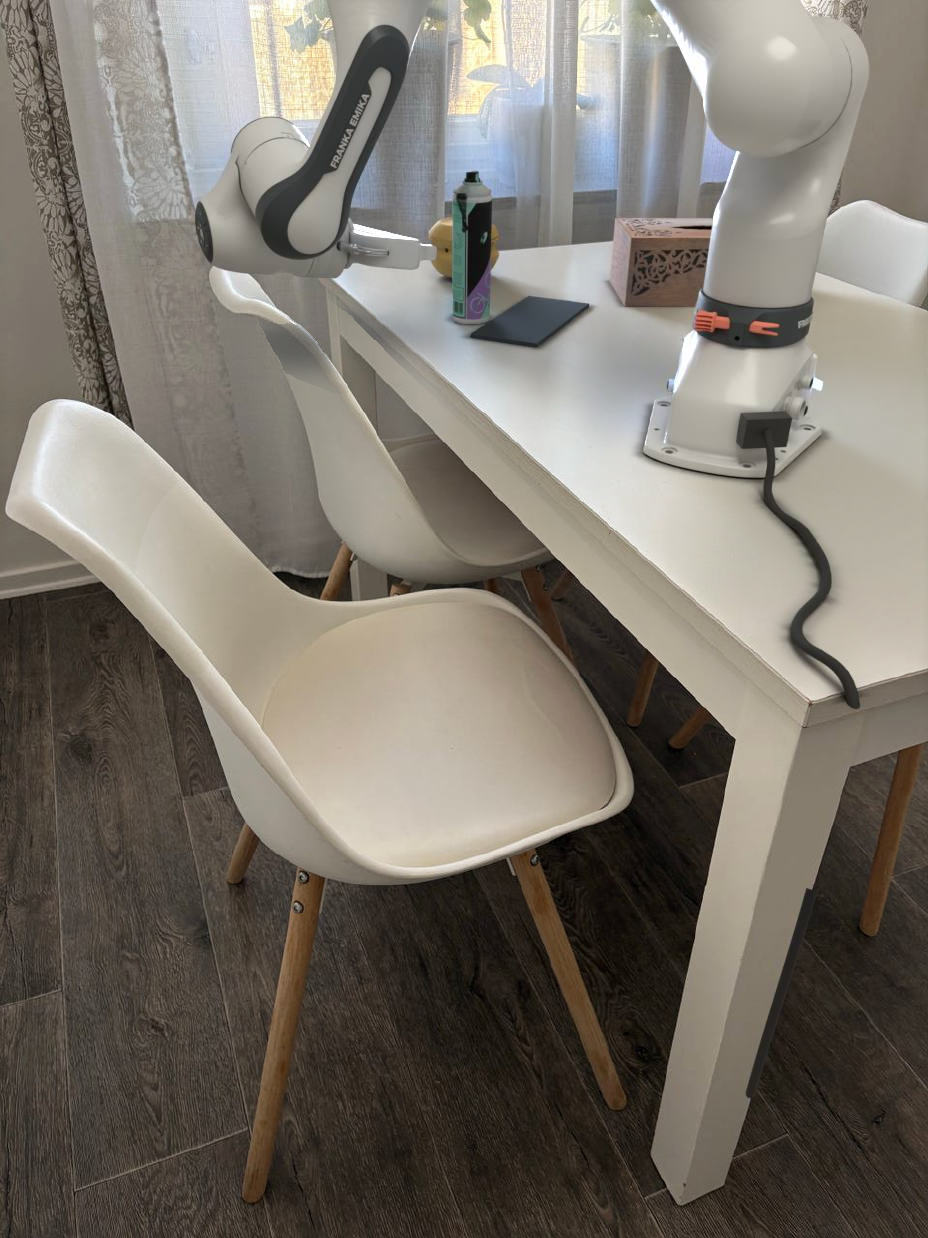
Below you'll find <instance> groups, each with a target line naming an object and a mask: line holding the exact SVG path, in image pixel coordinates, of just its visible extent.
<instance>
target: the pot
mask: <svg viewBox="0 0 928 1238" xmlns="http://www.w3.org/2000/svg"><path fill="white" fill-rule="evenodd" d="M428 239H429V241H431V243H432V244H431V245H432V246H435V247H436V248H437V255H436V259H435V260H429V261H430V262H431V265H432V266H433V268H434V269H435V271H436V272H438V273H439V274H441V275H442V276H444V277H446V278H449V279H450V278H451V279H452V216H449V217H445V218H442V219H439V220H438V221H437V222H435V223H434V224H433V226H431V228H430V230H429V231H428ZM499 240H500V233H499V230H498V228H497V227H496V226H495V224H493V223H492V231H491V271H492V270H493V269H494V267H495V265H496V263H497V262H498V259H499V257H500V252H499V249H498V248H497V246H496V243H498V241H499Z"/></svg>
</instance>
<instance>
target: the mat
mask: <svg viewBox="0 0 928 1238" xmlns="http://www.w3.org/2000/svg"><path fill="white" fill-rule="evenodd" d="M588 308H590V303H589V302H580V301H574V300H573V301H572V300H567V299H566V300H565V299H557V298H551V297H550V298H549V297H542V296H533V295H528V296H526V297H525V298H523V299H522V300H520V301H518V302H517V303H516V304H514V305H512V306H510V307H509V308H507V309H506V310H505V311H503V312H502V313H500V314H498V315H497V316H495V317H494V318H492V319H490V320H489V321H487V322H485V323H484V324H483V325H481V326H479V327H478V328H476V329H475V330H474V331H472V332H471V333H470V334H469V337H470V338H472V339H478V340H479V339H480V340H485V341H493V342H500V343H505V344H511V345H520V346H526V347H533V348H538V347H539V346H540V345H542V344H543V343H544V342H545V341H547V340H549V338H551V337H552V336H553V335H554V334H556V333H557V332H558V331H560V330H561V329H562V328H564V327H565V326H566V325H568V324H569V323H570V322H571V321H573V320H574V319H575V318H576V317H577V316H579V315H580V314H581V313H583V312H584V311H586V310H587V309H588Z"/></svg>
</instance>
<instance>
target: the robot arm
mask: <svg viewBox="0 0 928 1238" xmlns="http://www.w3.org/2000/svg"><path fill="white" fill-rule="evenodd" d="M649 1H650V2H651V4H652V6H653V7H654V8H655V10H656V11H657V13H658V14H659V15H660V17H661V18H662V20H663V21H664V23H665V25H666V26H667V27H668V29H669V31H670V33H671V34H672V36H673V38H674V40H675V42H676V44H677V45H678V48H679V50H680V52H681V55H682V57H683V59H684V61H685V64H686V66H687V68H688V70H689V72H690V75H691V77H692V79H693V81H694V83H695V85H696V88H697V90H698V92H699V94H700V95H701V98H702V99H703V100H702V101H703V102H702V103H703V111H704V116H705V119H706V122H707V125H708V127H709V129H710V131H711V132H712V134H713V136H714V137H715V138H716V139H717V140H718V141H719V142H720V143H721V144H722V145H724V146H725V147H726V148H728V149H730V150H732V151H735V155H734V158H733V161H732V164H731V168H730V171H729V173H728V174H729V175H728V177H727V180H726V183H725V185H724V189H723V191H722V194H721V195H720V198H719V200H718V202H717V204H716V207H715V209H714V211H713V217H712V218H713V224H712V230H711V237H710V244H709V252H708V259H707V266H706V273H705V280H704V287H703V288H702V289H700V291H699V295H698V300H697V302H696V305H695V306H694V310H693V311H694V313H693V314H694V316H693V320H692V324H691V326H692V330H691V331H690V332H688V333H686V334H685V335H684V336H683V337H681V341H680V350H679V357H678V365H677V371H676V373H675V374H676V375H675V378H674V379H672V378H669V379H668V381H667V382H666V390H667V392H669V393H672V395H666V396H665V395H664V396H659V397H656V398H655V399H654V401H653V406H652V410H651V414H650V418H649V422H648V423H649V424H648V427H647V431H646V436H645V440H644V444H643V449H642V451H643V454H644V455H646V456H648V457H650V458H652V459H654V460H657V461H660V462H662V463H665V464H668V465H672V466H676V467H680V468H684V469H688V470H693V471H698V472H701V473H709V474H715V475H722V476H726V477H727V476H729V477H738V478H750V479H751V478H752V479H753V478H754V479H755V478H758V479H760V478H761V479H762V478H763V479H764V480H763V498H764V501H765V503H766V506H767V508H768V509H769V510H770V512H772V513H773V515H775V516H776V517H777V518H778V519H779V520H781V522H782V523H784V524H785V525H786V526H788V527H790V528H792V529H793V530H795V531H796V532H797V533H798V534H799V535H800V536H801V537H802V539H803V540H804V542H805V543H806V545H807V547H808V548H809V550H810V551H811V553H812V555H813V556H814V558H815V560H816V562H817V564H818V567H819V570H820V585H819V586H820V587H819V589H818V590H817V591H816V593H815V594H814V595H813V596H812V597H810V599H808V600H807V601H806V602H805V603H804V604H803V605H802V606H801V607H800V608H799V609H798V611H797V612H796V613H795V614H794V617H793V618H792V621H791V626H790V630H791V636H792V640H793V642H794V644H795V645H796V646H797V648H798V649H800V650H801V651H802V653H805V654H806V655H808V656H810V657H811V658H813V659H815V660H816V661H818V662H820V663H821V664H823V665H824V666H825V667H827V669H829V670H830V671H831V672H832V673H834V675H835V676H836V677H837V678H838V680H839V682H840V684H841V687H842V688H843V691H844V695H845V699H846V704H847V706H848V707H850V708H851V709H853V710H859V709H860V707H861V702H860V701H861V700H860V696H859V692H858V689H857V685H856V683H855V680H854V678H853V676H852V675H851V673H850V671H848V669H847V668H846V667H845V665H843V663H841V662H840V661H839V660H838V659H836V658H835V657H834V656H832V655H831V654H829V653H828V652H826V651H825V650H822V649H821V648H819V647H817V646H816V645H814V644H812V643H811V642H810V641H809V640H808V639H807V638H806V636H805V635H804V630H803V628H804V627H803V626H804V623H805V621H806V619H807V618H808V617H809V616H810V615H811V614H812V613H813V611H815V610H816V609H817V608H818V607H819V606H820V605H821V604H822V603H823V602H824V601H825V600H826V598H827V597H828V595H829V593H830V591H831V590H832V584H833V578H832V577H833V576H832V571H831V570H832V569H831V565H830V562H829V560H828V557H827V555H826V553H825V552H824V549H823V548H822V547H821V545H820V543H819V542H818V540H817V538H816V537H815V536H814V534H813V533H812V532H811V531H810V529H809V528H808V527H807V526H806V525H805V524H803V523H802V522H801V521H799V520H797V519H796V518H794V517H793V516H791V515H789V514H788V513H786V512H785V511H784V510H783V509H782V508H781V507H780V506H779V505H778V504H777V501H776V500H775V497H774V493H773V483H774V478H775V477H776V476H777V475H779V474H780V473H781V472H782V471H783V470H784V469H785V468H786V467H787V466H789V465H790V464H791V463H792V462H793V461H794V460H795V459H797V457H799V456H800V455H801V454H802V453H803V452H804V451H805V450H806V449H807V448H808V447H810V446H811V445H812V444H813V443H814V442H815V441H816V440H817V439H818V438H819V437H820V436H821V435H822V429H823V425H822V423H820V422H819V421H817V420H815V419H814V418H811V417H809V410H810V403H811V399H812V394H813V389H816V390H817V391H822V389H823V383H824V381H822V380H820V379H818V378H817V377H816V371H817V366H818V365H817V364H818V355H817V354H816V353H815V351H814V350H813V349H812V348H811V347H810V344H809V342H808V341H807V338H806V337H807V336H808V334H809V332H810V328H811V322H812V320H813V315H814V303H815V298H813V296H812V292H813V288H814V283H815V278H816V273H817V270H818V269H817V268H818V263H819V259H820V254H821V249H822V244H823V238H824V234H825V229H826V226H827V221H828V216H829V213H830V211H831V206H832V202H833V200H834V197H835V193H836V191H837V188H838V185H839V182H840V178H841V175H842V172H843V169H844V166H845V163H846V161H847V156H848V153H849V149H850V146H851V143H852V139H853V136H854V132H855V128H856V125H857V122H858V117H859V114H860V110H861V106H862V102H863V99H864V97H865V94H866V91H867V88H868V84H869V79H870V61H869V55H868V52H867V49H866V46H865V44H864V42H863V41H862V39H861V38H860V37H859V35H858V33H857V32H856V31H855V30H854V29H853V28H852V27H850V25H848V24H847V23H845V22H843V21H842V20H839V19H836V18H834V17H829V16H813V15H812V14H811V13H810V12H809V11H808V10H807V9H806V7H805V6H804V4H803V3H802V0H649ZM432 2H433V0H326V4H327V8H328V13H329V15H330V20H331V24H332V30H333V37H334V41H335V48H336V49H335V50H336V76H335V83H334V86H333V90H332V93H331V96H330V98H329V100H328V103H327V104H326V107H325V110H324V112H323V114H322V115H321V118H320V121H319V123H318V125H317V127H316V129H315V132H314V134H313V136H312V138H311V141H310V144H309V142H308V140H307V139H306V138H305V136H304V135H303V133H302V132H301V131H300V129H299V128H298V127H297V126H296V125H295V124H294V123H293V122H291V121H289V120H288V119H286V118H283V117H280V116H263V117H258V118H257V119H253V120H251V121H250V122H249V123H247V124H245V125H244V126H243V127H242V128H241V129H240V130H239V131H238V132H237V134H236V136H235V137H234V139H233V142H232V144H231V148H230V155H229V157H228V160H227V163H226V165H225V167H224V168H223V170H222V172H221V175H220V177H219V178H218V180H217V182H216V183H215V185H214V186H213V187H212V188H211V190H210V191H208V193H205V195H203V196H202V197H201V198H200V199H198V201H197V202H196V206H195V210H194V225H195V226H194V227H195V233H196V236H197V241H198V244H199V247H200V249H201V251H202V254H203V255H204V257H205V258H206V261H207V262H209V264H210V265H211V266H213V267H215V268H217V269H219V270H224V271H227V272H232V273H239V274H247V275H257V276H273V275H277V274H289V275H292V276H294V277H300V278H315V279H317V278H318V279H333V280H334V279H338V278H339V277H340V276H341V275H342V274H343V273H344V270H348V269H350V268H351V266H352V265H353V264H354V263H356V264H359V265H363V266H367V267H371V268H372V267H373V268H382V269H393V270H404V271H406V270H407V271H412V270H413V271H414V270H418V269H419V267H420V264H421V262H422V261H430V260H435V259H436V255H437V248H436V247H435V246H432V244H424V243H423V244H422V243H421V241H420V240H419V239H417V238H413V237H408V236H403V235H401V234H396V233H391V232H388V231H384V230H380V229H374V228H370V227H366V226H362V225H359V224H354V222H353V220H352V219H351V218H350V215H351V214H350V213H351V207H352V203H353V198H354V195H355V192H356V188H357V186H358V183H359V181H360V179H361V177H362V175H363V173H364V171H365V168H366V166H367V164H368V161H369V159H370V157H371V156H372V153H373V151H374V149H375V147H376V145H377V142H378V140H379V138H380V136H381V133H382V132H383V129H384V127H385V125H386V123H387V121H388V119H389V117H390V114H391V112H392V111H393V108H394V106H395V104H396V101H397V99H398V97H399V94H400V91H401V89H402V87H403V84H404V81H405V78H406V75H407V71H408V67H409V63H410V57H411V53H412V51H413V47H414V44H415V42H416V38H417V36H418V33H419V31H420V28H421V26H422V23H423V21H424V19H425V17H426V15H427V12H428V10H429V9H430V6H431V4H432ZM817 894H818V890H814V889H811V888H809V887H806V888H805V891H804V894H803V898H802V901H801V905H800V908H799V913H798V916H797V920H796V923H795V926H794V929H793V933H792V935H791V940H790V943H789V946H788V949H787V952H786V956H785V960H784V962H783V966H782V969H781V973H780V976H779V979H778V982H777V986H776V988H775V989H776V990H775V992H774V994H773V998H772V1002H771V1005H770V1007H769V1012H768V1015H767V1018H766V1021H765V1025H764V1028H763V1031H762V1034H761V1038H760V1041H759V1045H758V1047H757V1051H756V1054H755V1057H754V1060H753V1061H754V1062H753V1065H752V1069H751V1072H750V1075H749V1079H748V1082H747V1086H746V1090H745V1096H746V1097H747V1098H748V1099H751V1100H752V1099H754V1098H755V1095H756V1092H757V1089H758V1086H759V1083H760V1079H761V1075H762V1072H763V1069H764V1066H765V1063H766V1060H767V1059H766V1058H767V1055H768V1053H769V1049H770V1045H771V1043H772V1039H773V1036H774V1033H775V1030H776V1027H777V1025H778V1021H779V1018H780V1013H781V1011H782V1007H783V1005H784V1002H785V998H786V995H787V993H788V989H789V987H790V982H791V980H792V976H793V973H794V971H795V966H796V963H797V961H798V957H799V954H800V950H801V947H802V944H803V941H804V937H805V934H806V931H807V928H808V924H809V921H810V918H811V915H812V912H813V908H814V904H815V901H816V898H817Z"/></svg>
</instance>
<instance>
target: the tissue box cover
mask: <svg viewBox="0 0 928 1238" xmlns="http://www.w3.org/2000/svg"><path fill="white" fill-rule="evenodd" d="M712 224H713V217H615V218H614V230H613V238H612V239H613V240H612V249H611V250H612V251H611V261H610V262H611V263H610V275H609V284H610V285H611V287H612V288H613V290H614V291H615V293H616V295H617V297H618V298H619V299H620V300H621V303H622V304H623V306H624V307H695V305H696V302H697V300H698V295H699V291H700V289H702V288H703V287H704V280H705V273H706V266H707V259H708V252H709V244H710V237H711V230H712Z"/></svg>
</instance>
